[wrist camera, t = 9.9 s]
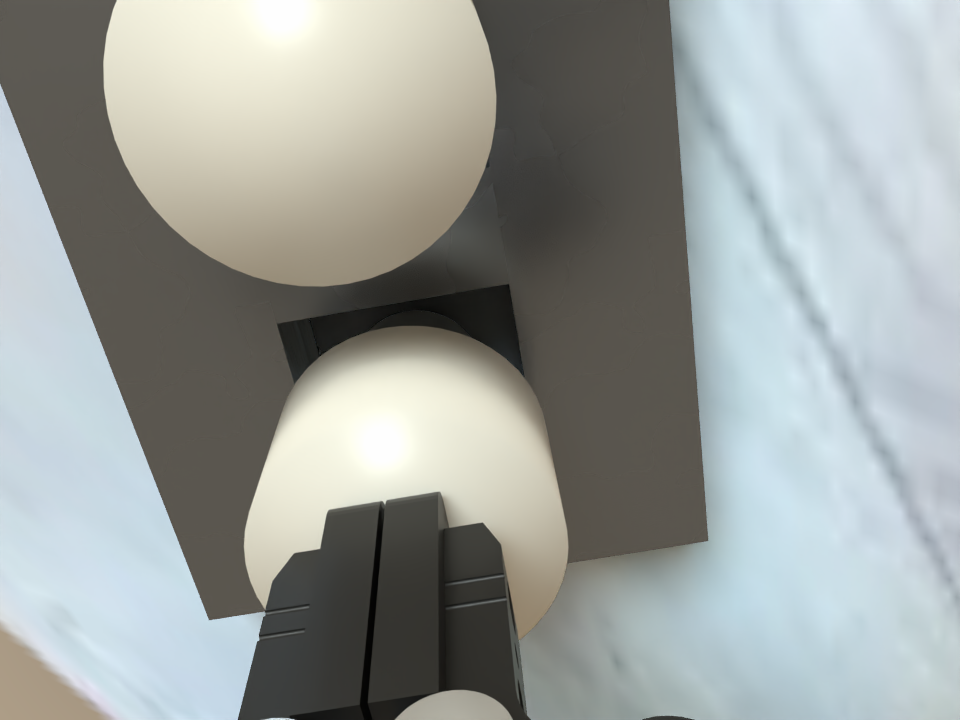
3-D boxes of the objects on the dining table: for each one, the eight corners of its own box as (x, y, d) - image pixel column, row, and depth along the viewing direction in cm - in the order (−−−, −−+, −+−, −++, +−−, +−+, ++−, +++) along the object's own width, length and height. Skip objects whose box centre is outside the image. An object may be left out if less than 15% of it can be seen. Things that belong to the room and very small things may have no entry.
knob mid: (452, -126, 15) (459, -151, 9) (497, 146, 16) (522, 254, 11) (184, -74, 15) (42, -71, 9) (259, 189, 17) (175, 313, 11)
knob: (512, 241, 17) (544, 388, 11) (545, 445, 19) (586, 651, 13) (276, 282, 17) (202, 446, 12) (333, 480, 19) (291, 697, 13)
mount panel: (563, -874, 11) (591, -1062, 9) (679, 473, 20) (708, 540, 18) (-212, -701, 12) (-360, -841, 10) (234, 545, 20) (209, 619, 18)
